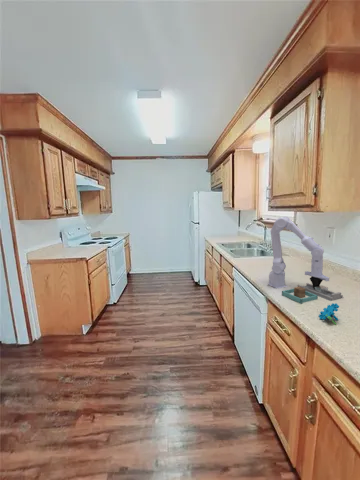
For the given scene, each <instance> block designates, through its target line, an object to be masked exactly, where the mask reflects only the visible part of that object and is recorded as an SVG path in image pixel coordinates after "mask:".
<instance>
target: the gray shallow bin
mask: <svg viewBox="0 0 360 480" xmlns="http://www.w3.org/2000/svg"><path fill="white" fill-rule="evenodd" d="M299 286H300V287H302V288H305V291H307V292H309V293H312V294H315V295H317V296H318V297H319V298H321V299H324V300H327V301H328V302H332V301H333V302H334V301H337V300H340V299H344V295H343V294H342V292H335V291H331V290H329V289H328V294H322V293H319V292H317V291H315V290H314V288H313V285H312V283H308V282H307V283H306V285H300V284H298V285H297V287H299Z"/></svg>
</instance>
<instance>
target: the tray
mask: <svg viewBox="0 0 360 480" xmlns="http://www.w3.org/2000/svg"><path fill="white" fill-rule="evenodd" d="M292 293H293V294H292ZM281 296H283V297H285V298H286V299H289V300H291V301H294V302H296V303H297V304H300V305H302V304H304V303H306V302H307V303H308V302H311V301H316V300H318V297H319V296H317V295H315V294H312V293H309V292H307V291H305V296H307V297H304V298H298V297H296V296H294V288H291V289H286V290H285V289H284V290H281Z"/></svg>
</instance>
